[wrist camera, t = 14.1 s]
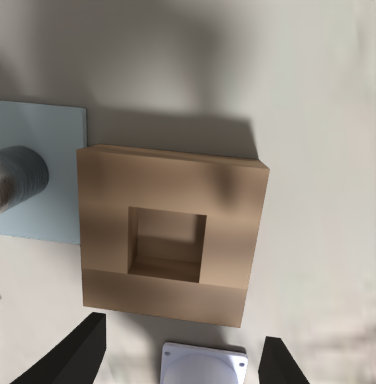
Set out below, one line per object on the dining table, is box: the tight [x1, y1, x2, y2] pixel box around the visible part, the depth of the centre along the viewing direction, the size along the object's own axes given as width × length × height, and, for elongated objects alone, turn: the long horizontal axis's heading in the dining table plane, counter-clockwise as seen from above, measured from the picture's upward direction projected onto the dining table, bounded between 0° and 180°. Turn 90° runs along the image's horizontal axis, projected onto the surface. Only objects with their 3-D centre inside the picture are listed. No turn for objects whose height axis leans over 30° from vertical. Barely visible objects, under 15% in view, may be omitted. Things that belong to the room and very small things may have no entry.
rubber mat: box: [0, 100, 87, 245], centre depth 20 cm, size 11×10×1 cm
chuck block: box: [76, 144, 270, 328], centre depth 19 cm, size 12×12×4 cm
